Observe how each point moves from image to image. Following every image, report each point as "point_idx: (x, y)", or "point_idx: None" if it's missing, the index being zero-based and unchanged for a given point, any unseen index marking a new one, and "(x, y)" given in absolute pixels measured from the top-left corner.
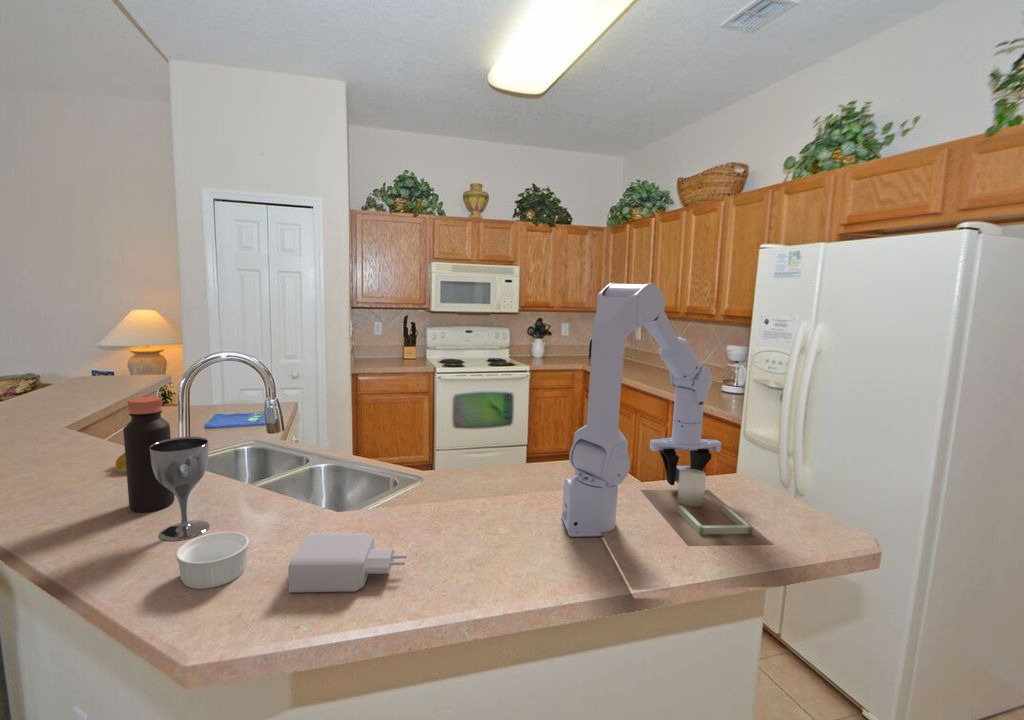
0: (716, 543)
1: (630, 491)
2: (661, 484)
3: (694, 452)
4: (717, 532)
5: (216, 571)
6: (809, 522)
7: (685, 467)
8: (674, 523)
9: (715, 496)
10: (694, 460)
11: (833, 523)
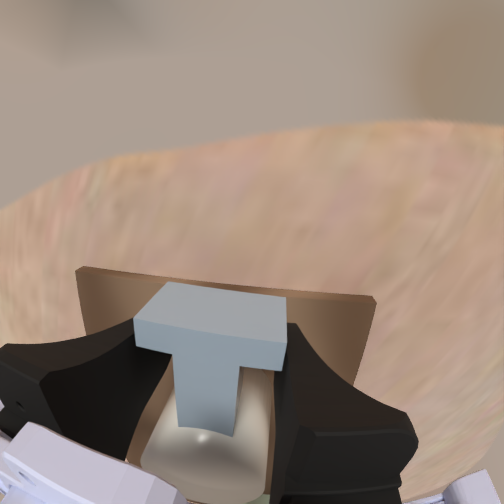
0: (192, 500)
1: (60, 243)
2: (200, 173)
3: (281, 485)
4: None
5: None
6: (461, 441)
7: (237, 369)
8: (133, 452)
9: (355, 365)
10: (281, 441)
11: (491, 434)
